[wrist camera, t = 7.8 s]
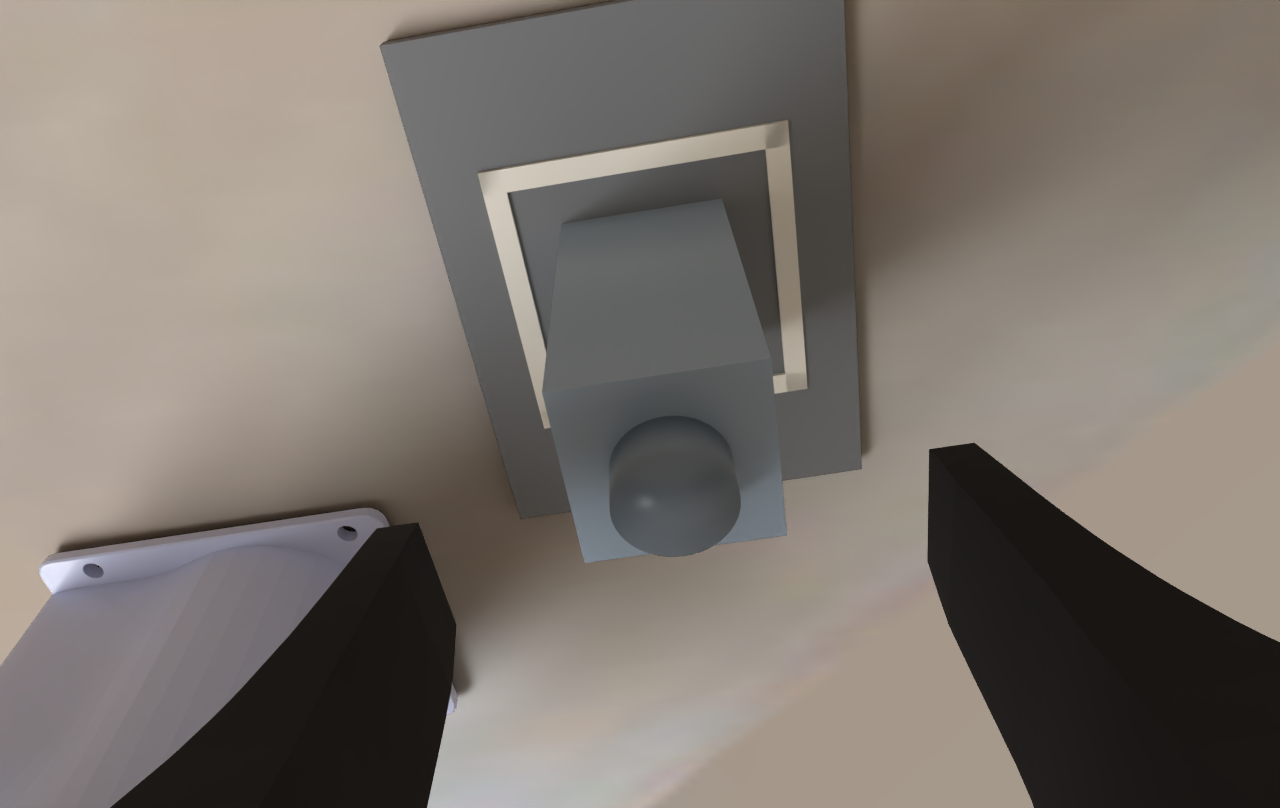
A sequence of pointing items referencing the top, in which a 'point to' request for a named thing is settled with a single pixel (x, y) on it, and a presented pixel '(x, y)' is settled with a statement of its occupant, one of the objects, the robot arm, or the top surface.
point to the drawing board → (642, 189)
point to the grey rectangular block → (661, 386)
